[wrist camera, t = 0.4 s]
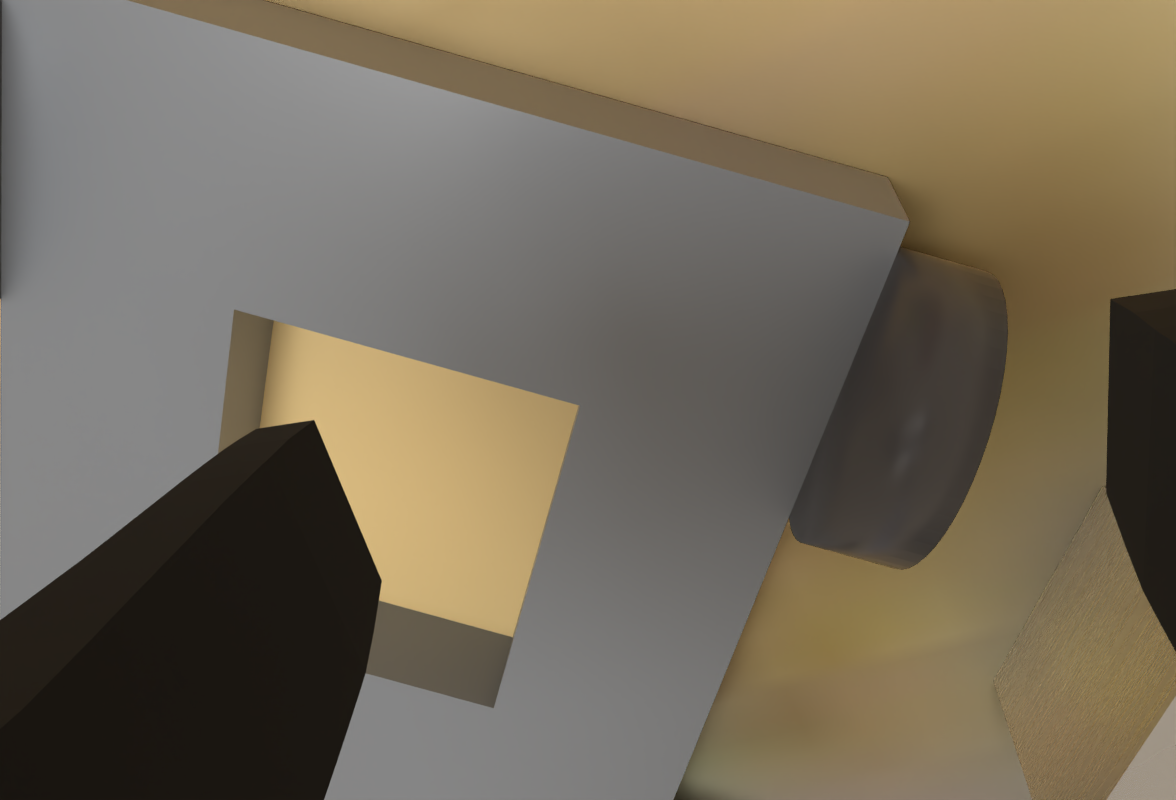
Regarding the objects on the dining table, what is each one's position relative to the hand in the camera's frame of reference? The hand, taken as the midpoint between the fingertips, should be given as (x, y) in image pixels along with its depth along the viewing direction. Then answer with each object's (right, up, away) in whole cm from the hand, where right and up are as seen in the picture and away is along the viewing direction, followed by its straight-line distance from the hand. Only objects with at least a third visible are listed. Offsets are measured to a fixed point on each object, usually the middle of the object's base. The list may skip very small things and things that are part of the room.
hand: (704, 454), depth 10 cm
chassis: (-5, -2, +13) cm, 14 cm away
